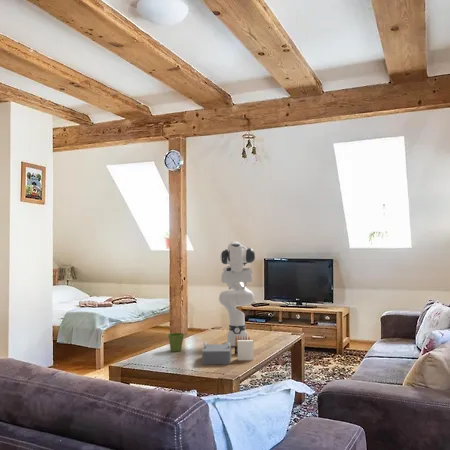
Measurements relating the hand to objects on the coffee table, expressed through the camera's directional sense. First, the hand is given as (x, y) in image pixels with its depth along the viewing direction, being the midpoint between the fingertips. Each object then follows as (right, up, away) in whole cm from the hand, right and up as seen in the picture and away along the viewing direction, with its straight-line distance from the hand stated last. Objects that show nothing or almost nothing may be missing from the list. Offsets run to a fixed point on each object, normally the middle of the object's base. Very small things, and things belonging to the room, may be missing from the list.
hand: (236, 289), depth 335 cm
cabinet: (-13, -43, -15) cm, 47 cm away
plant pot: (-42, -45, +15) cm, 63 cm away
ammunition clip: (+4, -44, +2) cm, 44 cm away
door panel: (+5, -43, -14) cm, 45 cm away
